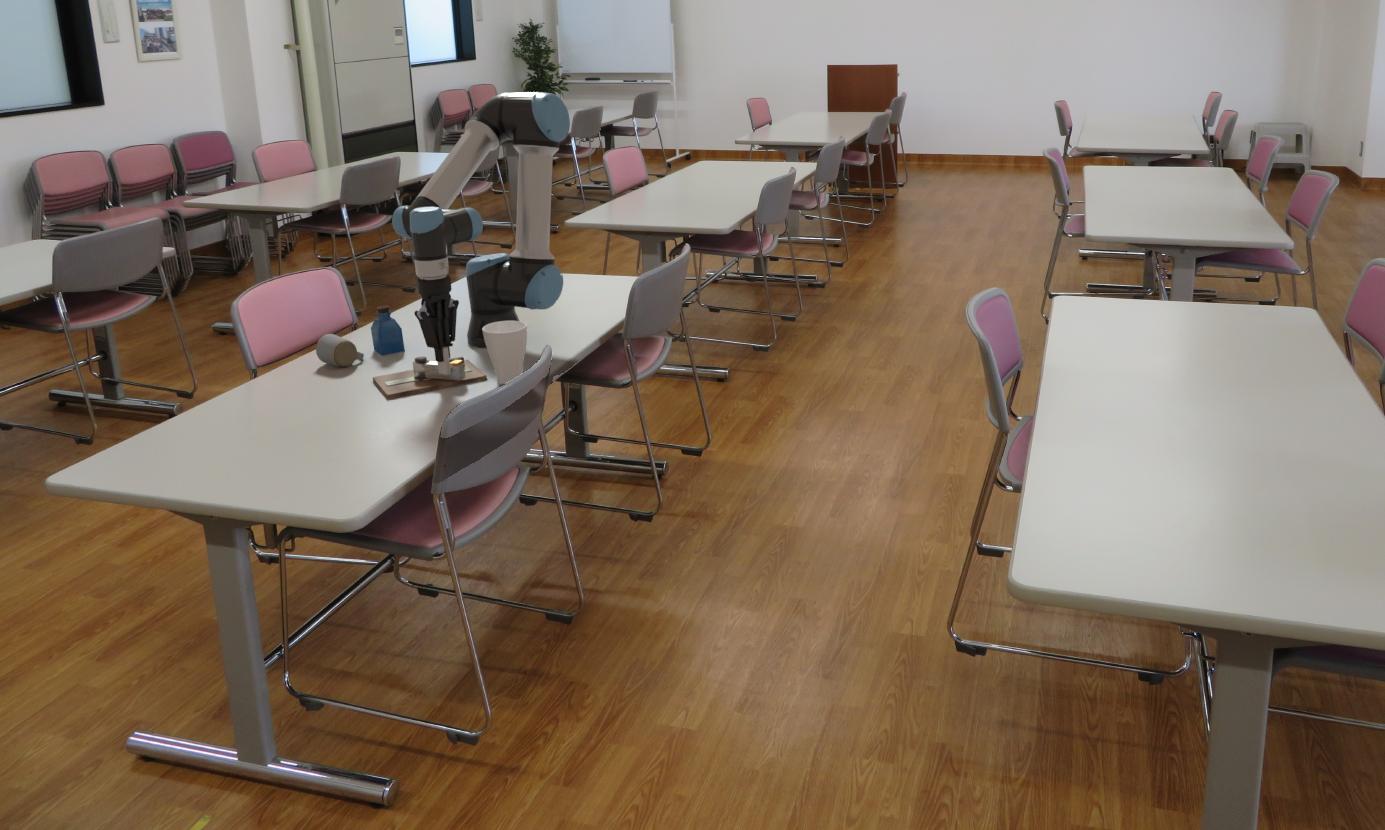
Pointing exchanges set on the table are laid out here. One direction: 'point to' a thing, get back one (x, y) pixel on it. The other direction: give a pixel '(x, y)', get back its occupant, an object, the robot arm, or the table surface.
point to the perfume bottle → (386, 333)
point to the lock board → (423, 380)
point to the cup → (506, 348)
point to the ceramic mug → (337, 351)
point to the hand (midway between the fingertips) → (444, 373)
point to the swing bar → (431, 370)
